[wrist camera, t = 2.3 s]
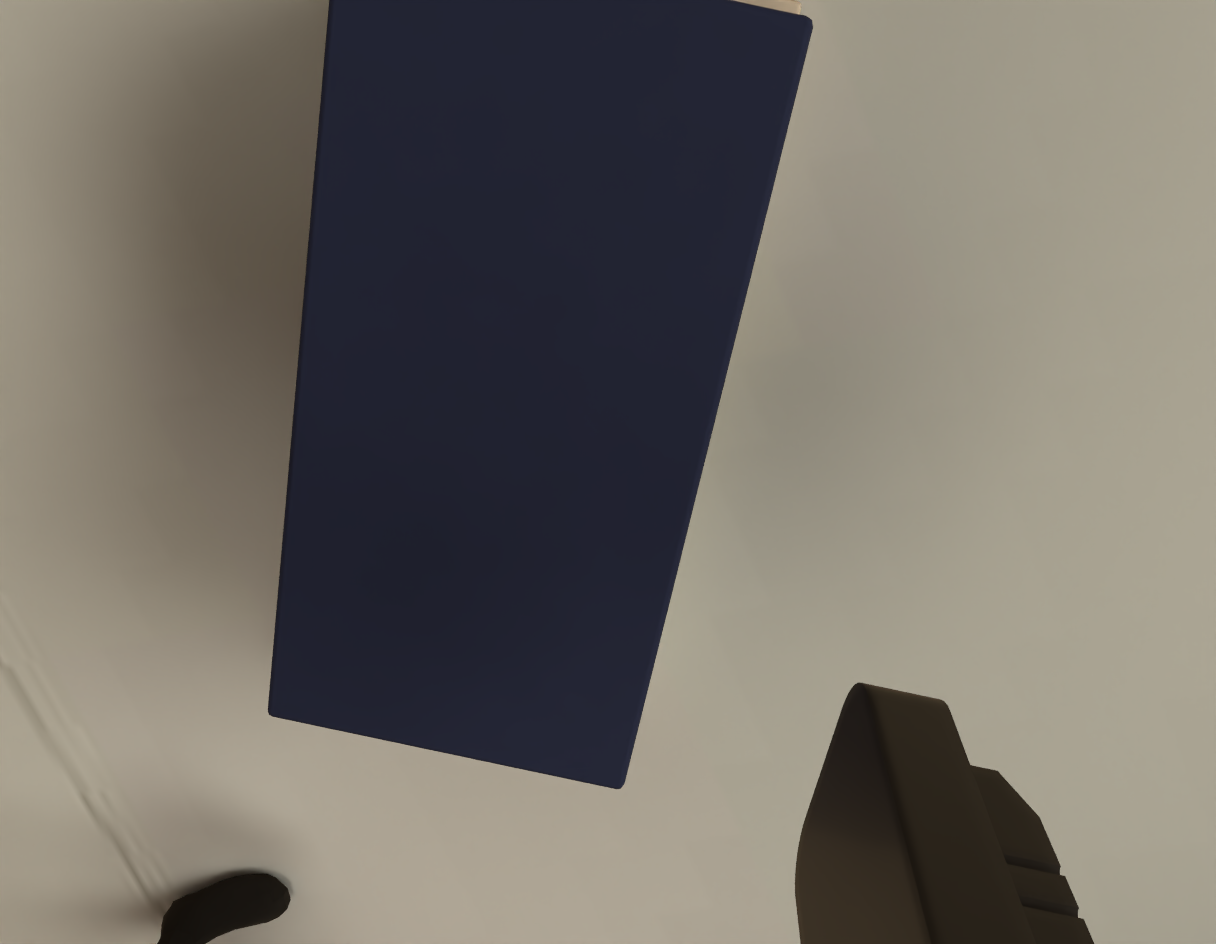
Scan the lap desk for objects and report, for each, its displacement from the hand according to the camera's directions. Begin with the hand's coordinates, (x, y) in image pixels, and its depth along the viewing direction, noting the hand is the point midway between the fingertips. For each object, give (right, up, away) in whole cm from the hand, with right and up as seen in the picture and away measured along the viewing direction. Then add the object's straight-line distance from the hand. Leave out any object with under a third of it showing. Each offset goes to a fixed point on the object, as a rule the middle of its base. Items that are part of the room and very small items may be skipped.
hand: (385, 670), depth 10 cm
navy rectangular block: (+1, +3, +8) cm, 9 cm away
